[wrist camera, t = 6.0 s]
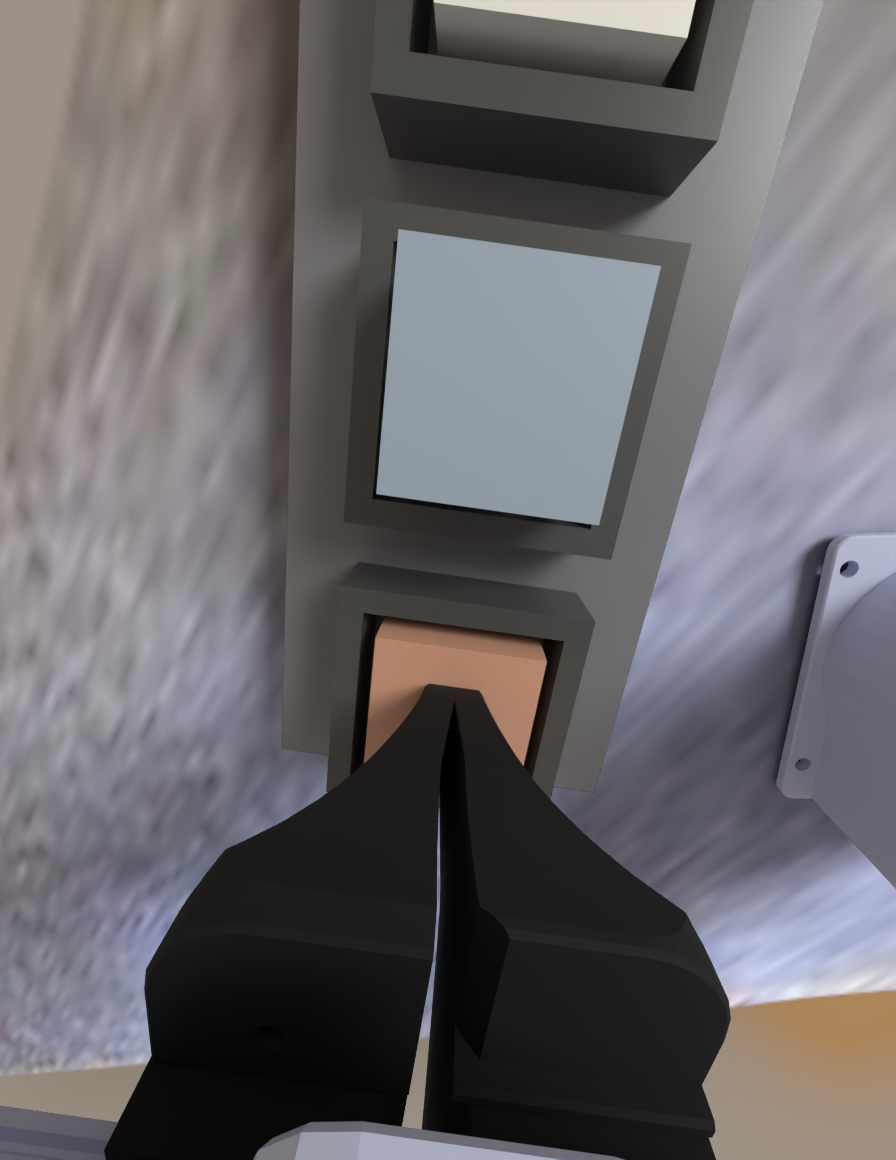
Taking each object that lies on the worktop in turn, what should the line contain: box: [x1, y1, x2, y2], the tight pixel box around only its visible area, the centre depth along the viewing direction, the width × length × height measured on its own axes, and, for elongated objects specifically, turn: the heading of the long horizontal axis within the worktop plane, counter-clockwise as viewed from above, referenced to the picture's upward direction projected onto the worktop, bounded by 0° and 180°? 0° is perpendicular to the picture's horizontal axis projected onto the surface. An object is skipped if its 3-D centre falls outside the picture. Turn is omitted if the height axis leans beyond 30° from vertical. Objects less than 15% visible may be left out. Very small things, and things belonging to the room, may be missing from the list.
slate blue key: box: [376, 229, 661, 525], centre depth 9 cm, size 4×4×2 cm
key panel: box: [282, 0, 824, 808], centre depth 11 cm, size 22×10×4 cm, turn 172°
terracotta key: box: [364, 616, 547, 766], centre depth 12 cm, size 4×4×2 cm
